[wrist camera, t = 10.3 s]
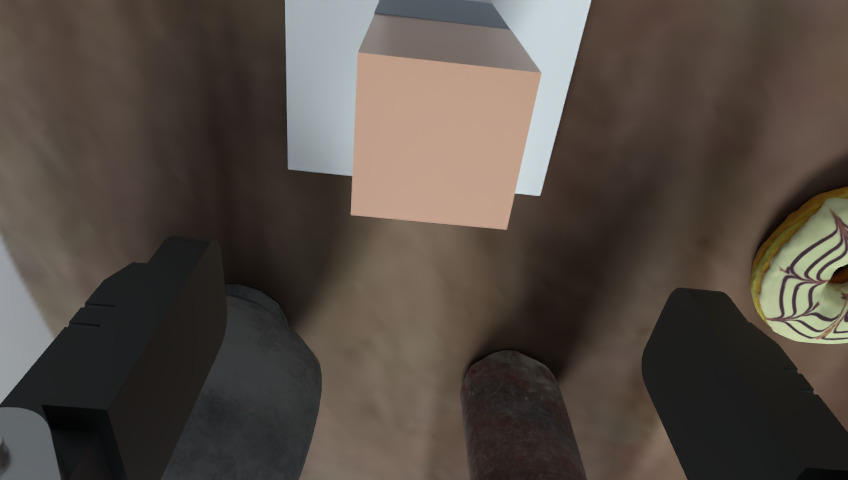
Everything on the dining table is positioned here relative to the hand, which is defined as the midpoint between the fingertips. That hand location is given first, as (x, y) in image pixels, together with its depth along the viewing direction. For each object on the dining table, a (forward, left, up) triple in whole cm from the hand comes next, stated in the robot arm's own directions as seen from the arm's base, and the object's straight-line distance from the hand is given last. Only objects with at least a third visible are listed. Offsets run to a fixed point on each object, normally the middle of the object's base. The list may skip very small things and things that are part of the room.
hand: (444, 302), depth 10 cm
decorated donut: (+10, +27, -22) cm, 36 cm away
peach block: (0, 0, -13) cm, 13 cm away
